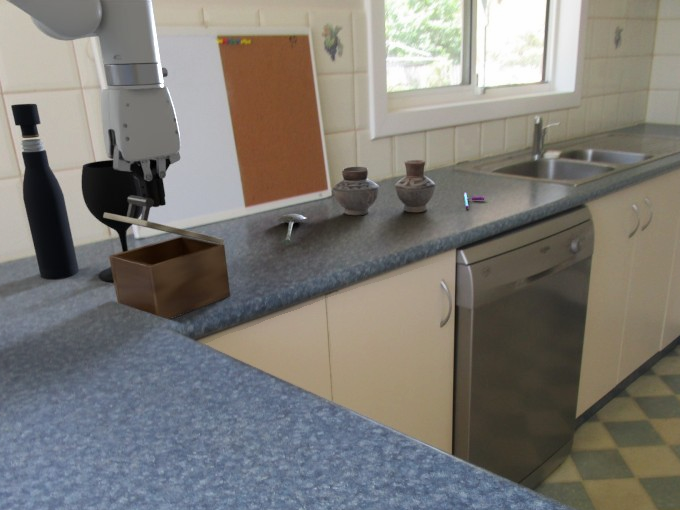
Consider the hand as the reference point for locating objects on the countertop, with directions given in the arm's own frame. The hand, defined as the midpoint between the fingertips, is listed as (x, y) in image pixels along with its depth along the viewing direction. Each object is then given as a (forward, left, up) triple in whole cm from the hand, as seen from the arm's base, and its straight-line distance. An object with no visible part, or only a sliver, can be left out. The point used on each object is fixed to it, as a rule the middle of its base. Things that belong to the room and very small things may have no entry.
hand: (154, 205), depth 100 cm
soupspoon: (-14, +42, -16) cm, 47 cm away
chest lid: (0, +1, -4) cm, 4 cm away
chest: (0, +1, -16) cm, 16 cm away
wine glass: (-20, +6, -16) cm, 27 cm away
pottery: (-8, +69, -16) cm, 71 cm away
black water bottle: (-31, -1, -16) cm, 35 cm away
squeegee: (+6, +89, -16) cm, 91 cm away
